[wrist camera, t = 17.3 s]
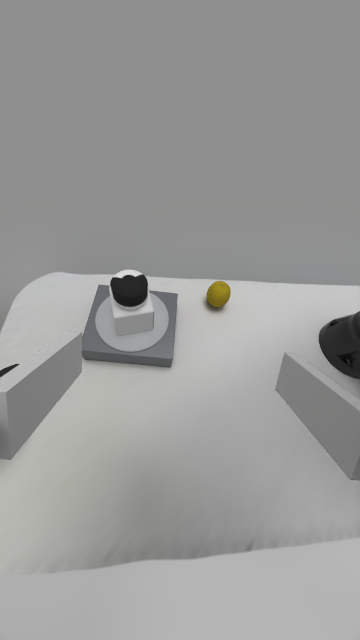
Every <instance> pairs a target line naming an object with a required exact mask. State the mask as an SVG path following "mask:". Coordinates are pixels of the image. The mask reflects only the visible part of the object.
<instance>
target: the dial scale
mask: <svg viewBox="0 0 360 640" xmlns="http://www.w3.org/2000/svg"><path fill="white" fill-rule="evenodd" d="M109 287H110V286H107V285H99V286H98V289H97V292H96V295H95V298H94V302H93V305H92V308H91V311H90V314H89V318H88V321H87V324H86V327H85V331H84V334H83V337H82V356H83V357H84V359H87V360H98V361H109V362H120V363H131V364H141V365H152V366H163V367H171V364H172V360H173V349H174V335H175V322H176V309H177V296H178V294H175V293H166V292H158V291H149V293H150V297H151V300H152V304H153V308H154V328H153V329H152V330H148V331H142V332H137V333H131V334H126V335H121V336H119V335H118V333H117V329H116V326H115V322H114V318H113V312H112V305H111V299H110V292H109Z"/></svg>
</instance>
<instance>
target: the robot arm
mask: <svg viewBox="0 0 360 640" xmlns="http://www.w3.org/2000/svg"><path fill="white" fill-rule="evenodd" d="M319 341H320V346H321V348H322V351H323V353H324V354H325V356H326V357H327V359H328V360H329V361H330V362H331V363H332V364H333V365H334V366H335V367H336V368H337V369H338V370H340V371H341V372H343V373H345V374H347V375H349V376H352V377H355V378H360V311H359V312H358V313H356V314H353V315H349V316H345V317H341V318H338V319H335V320H332V321H331V322H329V323H328V324H326V325H325V326H324V327H323V328H322V329H321V331H320V335H319ZM81 366H82V332H77V331H68V332H67V333H65V334H64V335H62V336H61V337H59V338H58V339H56V340H55V341H53V342H52V343H51V344H49V345H48V346H46V347H45V348H43V349H42V350H40V351H39V352H37V353H36V354H34V355H33V356H31V357H30V358H28V359H27V360H25V361H24V362H23V363H21V364H15V365H12V366H9V367H7V368H4V369H2V370H1V371H0V459H8V460H11V459H12V458H13V457H14V455H15V454H16V453H17V452H18V450H19V449H20V448H21V447H22V445H23V444H24V443H25V442H26V440H27V439H28V438H29V437H30V435H31V434H32V433H33V432H34V430H35V429H36V428H37V427H38V426H39V424H40V423H41V422H42V421H43V419H44V418H45V417H46V416H47V414H48V413H49V412H50V411H51V409H52V408H53V407H54V406H55V404H56V403H57V402H58V401H59V399H60V398H61V397H62V396H63V394H64V393H65V392H66V391H67V390H68V388H69V387H70V386H71V385H72V383H73V382H74V381H75V380H76V378H77V377H78V376H79V375H80V373H81ZM275 390H276V391H277V392H278V393H279V394H280V396H281V397H282V398H283V399H284V401H285V402H286V403H287V404H288V405H289V407H290V408H291V409H292V410H293V411H294V413H295V414H296V415H297V416H298V417H299V419H300V420H301V421H302V422H303V423H304V425H305V426H306V427H307V428H308V429H309V431H310V432H311V433H312V434H313V435H314V437H315V438H316V439H317V440H318V441H319V443H320V444H321V445H322V446H323V447H324V449H325V450H326V451H327V452H328V453H329V455H330V456H331V457H332V458H333V459H334V461H335V462H336V463H337V464H338V465H339V467H340V468H341V469H342V470H343V471H344V473H345V474H346V475H347V476H348V477H349V479H350V480H360V400H359V399H358V398H356V397H355V396H354V395H352V394H351V393H349V392H348V391H347V390H345V389H344V388H342V387H341V386H340V385H338V384H337V383H336V382H334V381H333V380H331V379H330V378H329V377H327V376H326V375H324V374H323V373H322V372H320V371H319V370H318V369H316V368H315V367H313V366H312V365H311V364H309V363H308V362H307V361H305V360H304V359H302V358H301V357H300V356H298V355H297V354H294V353H284V357H283V361H282V365H281V369H280V373H279V377H278V381H277V385H276V388H275Z"/></svg>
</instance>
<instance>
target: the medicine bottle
mask: <svg viewBox="0 0 360 640" xmlns="http://www.w3.org/2000/svg"><path fill="white" fill-rule="evenodd" d="M109 292H110V299H111V305H112V312H113V318H114V322H115V326H116V329H117V333H118V335H119V336H121V335H126V334H131V333H137V332H142V331H148V330H152V329H153V328H154V308H153V304H152V300H151V297H150V293H149V289H148V282H147V279H146V277H145V276H144V275H143V274H142V273H140V272H138V271H135V270H123V271H120V272H119V273H117V274H115V275H114V276H113V278H112V280H111V283H110V287H109Z"/></svg>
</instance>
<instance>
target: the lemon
mask: <svg viewBox="0 0 360 640" xmlns="http://www.w3.org/2000/svg"><path fill="white" fill-rule="evenodd" d="M229 298H230V287H229V286H228V284H226V283H225V282H223V281H217V282H215V283H213V284H212V285H211V286H210V287H209V289H208V291H207V300H208V302H209V304H210V305H212V306H214V307H221V306H223V305H225V304H226V303H227V302H228V300H229Z"/></svg>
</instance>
